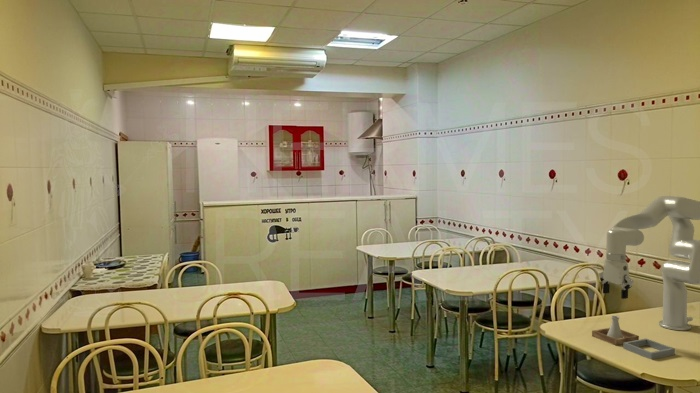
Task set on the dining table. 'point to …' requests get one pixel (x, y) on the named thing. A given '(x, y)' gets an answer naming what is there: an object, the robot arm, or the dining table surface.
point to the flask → (615, 328)
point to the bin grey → (663, 349)
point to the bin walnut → (603, 336)
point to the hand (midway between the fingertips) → (615, 295)
